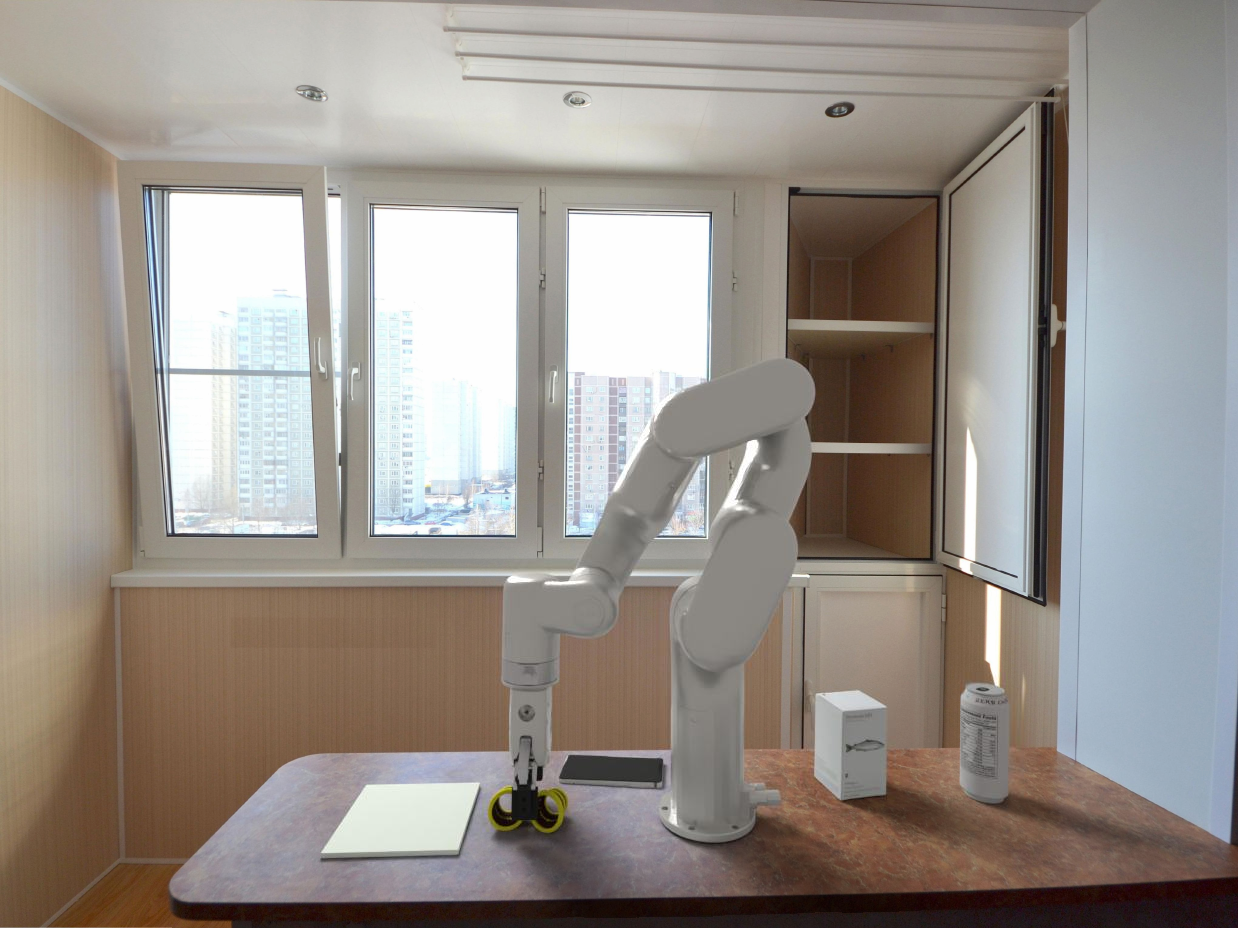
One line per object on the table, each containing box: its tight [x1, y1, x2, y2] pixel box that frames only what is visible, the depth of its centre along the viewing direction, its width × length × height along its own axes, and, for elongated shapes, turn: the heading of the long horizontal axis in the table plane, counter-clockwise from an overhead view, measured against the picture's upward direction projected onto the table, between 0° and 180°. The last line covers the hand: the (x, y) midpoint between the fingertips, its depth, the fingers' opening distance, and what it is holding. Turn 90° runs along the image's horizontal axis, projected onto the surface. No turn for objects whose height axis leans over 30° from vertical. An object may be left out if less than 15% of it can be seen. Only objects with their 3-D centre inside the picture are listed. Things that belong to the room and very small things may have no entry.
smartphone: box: [558, 754, 664, 789], centre depth 98 cm, size 8×1×15 cm
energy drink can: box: [959, 681, 1011, 804], centre depth 92 cm, size 6×6×15 cm
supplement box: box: [813, 689, 888, 801], centre depth 94 cm, size 7×7×13 cm
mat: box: [320, 781, 481, 859], centre depth 86 cm, size 16×16×1 cm
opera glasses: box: [487, 785, 569, 834], centre depth 85 cm, size 10×5×5 cm, turn 86°
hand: (527, 798), depth 86 cm, fingers open, 9 cm apart
